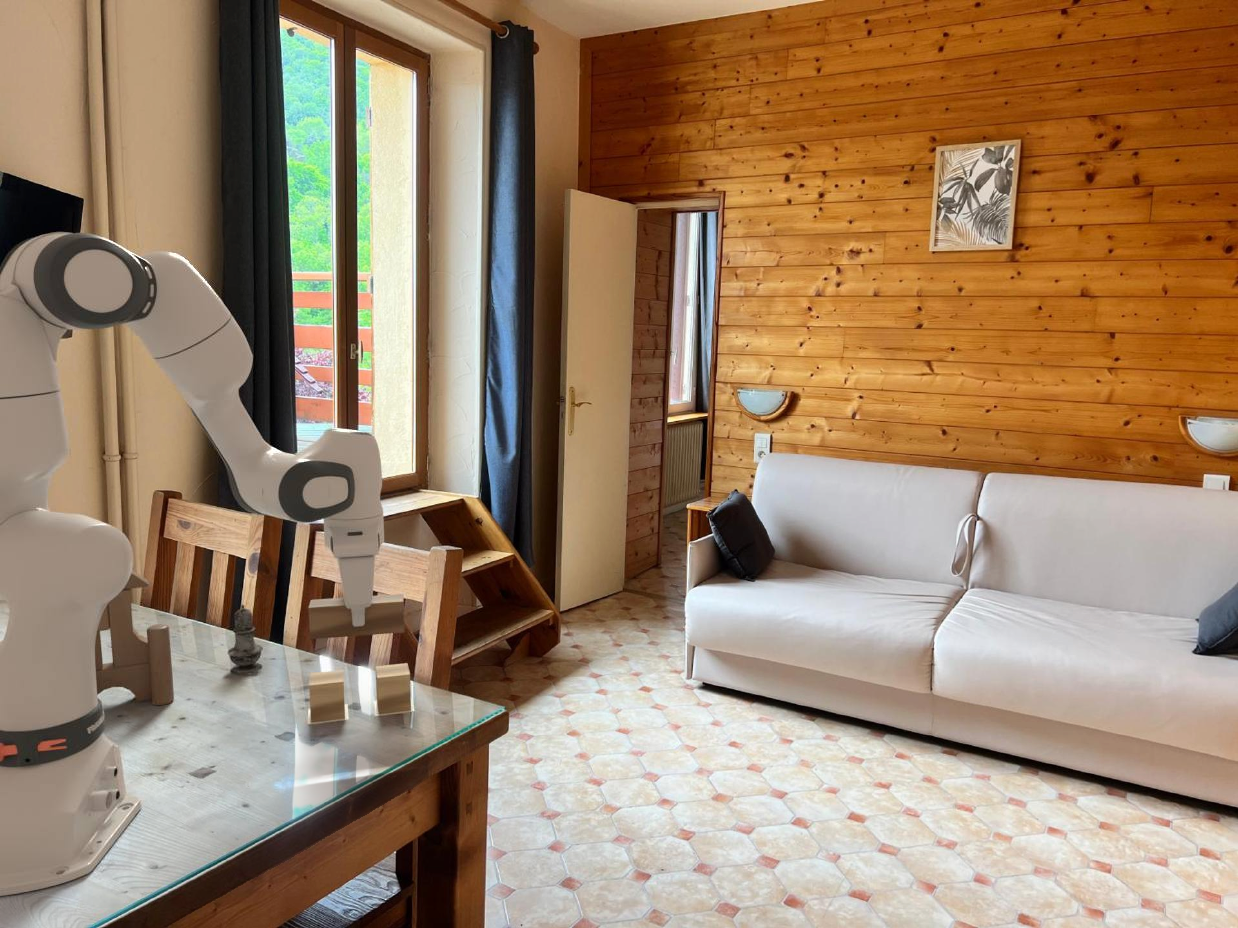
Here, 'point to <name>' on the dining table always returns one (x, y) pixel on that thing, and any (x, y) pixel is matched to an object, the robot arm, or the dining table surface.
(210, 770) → the dining table surface
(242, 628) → the salt shaker
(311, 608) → the wooden block
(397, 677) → the pillar far
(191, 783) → the dining table surface
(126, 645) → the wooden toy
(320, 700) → the pillar near
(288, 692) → the dining table surface
